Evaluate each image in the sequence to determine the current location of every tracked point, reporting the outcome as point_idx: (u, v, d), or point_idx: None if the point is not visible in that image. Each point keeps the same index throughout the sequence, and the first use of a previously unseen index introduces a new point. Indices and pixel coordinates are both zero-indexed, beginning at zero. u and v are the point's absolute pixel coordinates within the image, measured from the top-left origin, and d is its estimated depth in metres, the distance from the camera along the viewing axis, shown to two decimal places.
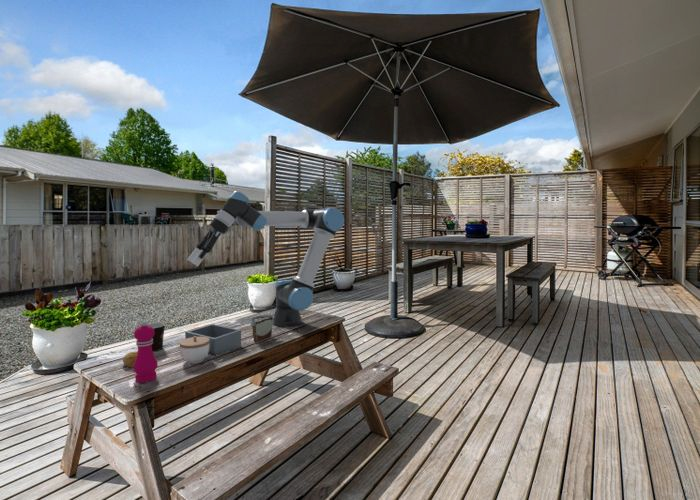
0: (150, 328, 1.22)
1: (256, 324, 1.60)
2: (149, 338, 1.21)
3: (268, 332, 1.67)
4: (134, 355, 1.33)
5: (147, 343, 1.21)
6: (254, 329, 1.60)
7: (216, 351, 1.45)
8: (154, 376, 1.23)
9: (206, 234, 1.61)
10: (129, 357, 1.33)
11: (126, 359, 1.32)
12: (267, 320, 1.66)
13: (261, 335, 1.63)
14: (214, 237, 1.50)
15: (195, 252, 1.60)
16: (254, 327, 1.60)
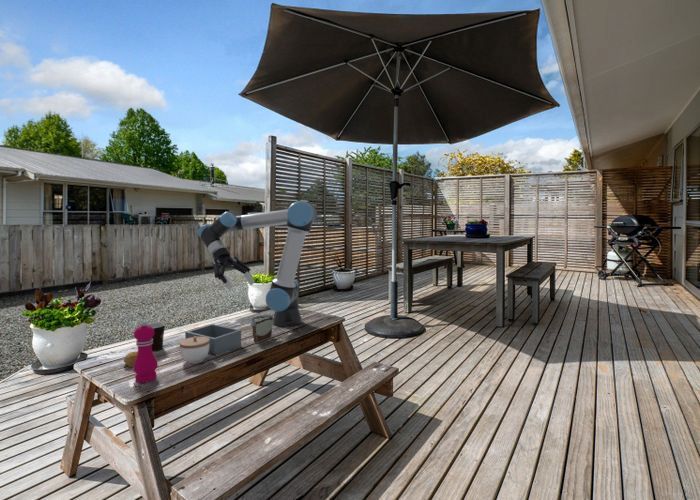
0: (150, 328, 1.22)
1: (256, 324, 1.60)
2: (149, 338, 1.21)
3: (268, 332, 1.67)
4: (135, 355, 1.34)
5: (147, 343, 1.21)
6: (254, 329, 1.60)
7: (216, 351, 1.45)
8: (154, 376, 1.23)
9: None
10: (130, 357, 1.33)
11: (127, 359, 1.33)
12: (267, 320, 1.66)
13: (261, 335, 1.63)
14: (214, 265, 1.67)
15: (246, 277, 1.76)
16: (254, 327, 1.60)
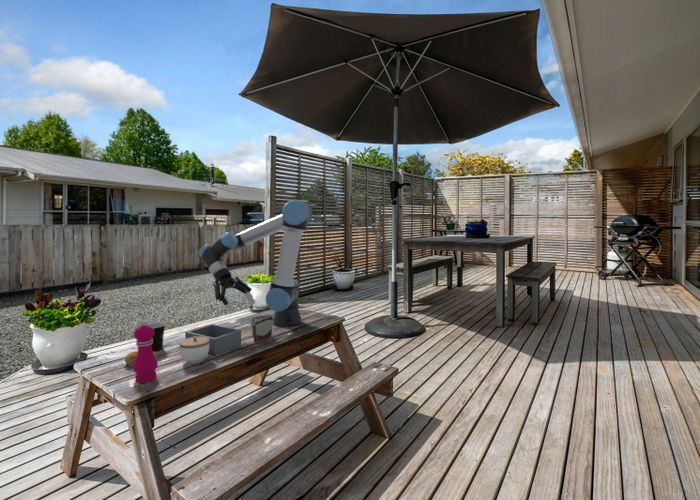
0: (150, 328, 1.22)
1: (256, 324, 1.60)
2: (149, 338, 1.21)
3: (268, 332, 1.67)
4: (136, 355, 1.34)
5: (147, 343, 1.21)
6: (254, 329, 1.60)
7: (216, 351, 1.45)
8: (154, 376, 1.23)
9: None
10: (131, 357, 1.33)
11: (128, 359, 1.33)
12: (267, 320, 1.66)
13: (261, 335, 1.63)
14: (215, 287, 1.67)
15: (247, 297, 1.77)
16: (254, 327, 1.60)
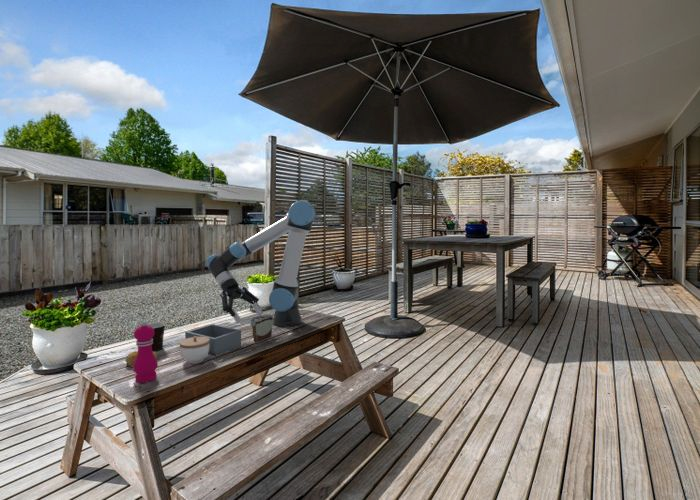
0: (150, 328, 1.22)
1: (256, 324, 1.60)
2: (149, 338, 1.21)
3: (268, 332, 1.67)
4: None
5: (147, 343, 1.21)
6: (254, 329, 1.60)
7: (216, 351, 1.45)
8: (154, 376, 1.23)
9: None
10: (132, 356, 1.33)
11: (129, 358, 1.33)
12: (267, 320, 1.66)
13: (261, 335, 1.63)
14: (222, 298, 1.65)
15: (255, 308, 1.74)
16: (254, 327, 1.60)
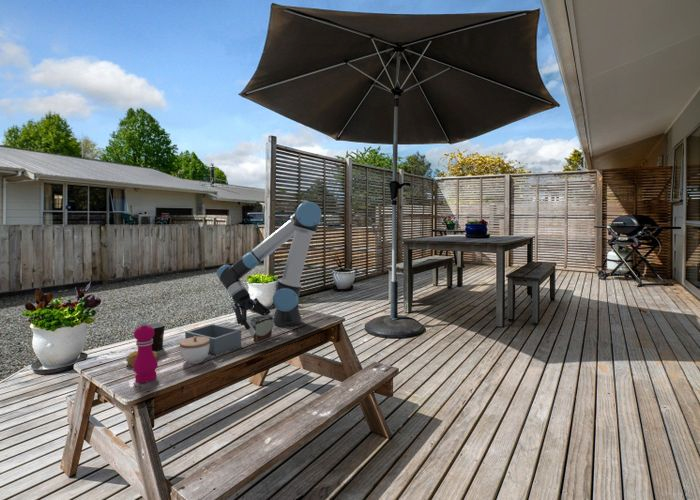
0: (150, 328, 1.22)
1: (256, 324, 1.60)
2: (149, 338, 1.21)
3: (268, 332, 1.67)
4: None
5: (147, 343, 1.21)
6: None
7: (216, 351, 1.45)
8: (154, 376, 1.23)
9: None
10: (133, 356, 1.34)
11: (130, 358, 1.33)
12: (267, 320, 1.66)
13: (261, 335, 1.63)
14: (236, 310, 1.62)
15: None
16: (254, 327, 1.60)
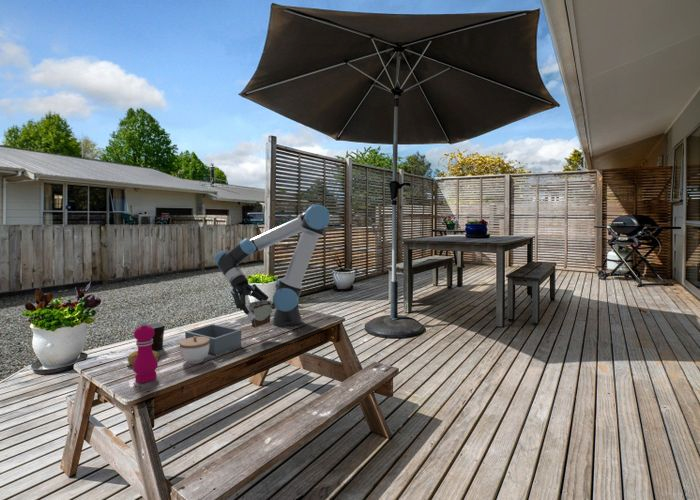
0: (150, 328, 1.22)
1: (254, 309, 1.59)
2: (149, 338, 1.21)
3: (266, 317, 1.66)
4: None
5: (147, 343, 1.21)
6: None
7: (216, 351, 1.45)
8: (154, 376, 1.23)
9: None
10: (134, 356, 1.34)
11: (131, 358, 1.34)
12: (265, 305, 1.65)
13: (259, 320, 1.62)
14: (234, 295, 1.62)
15: None
16: (252, 312, 1.59)
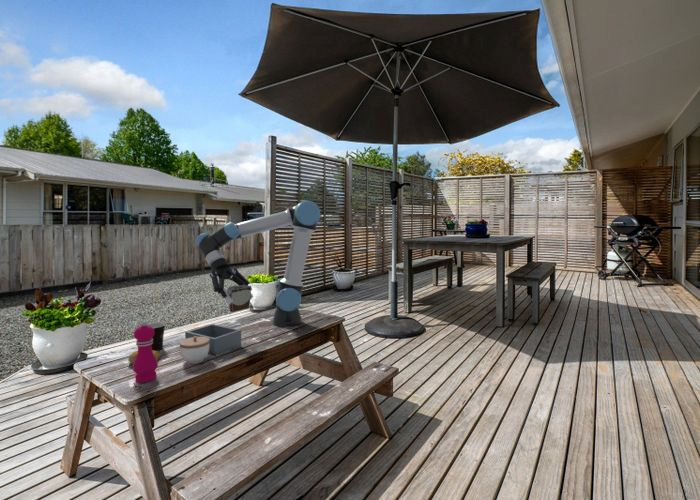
0: (150, 328, 1.22)
1: (232, 292, 1.54)
2: (149, 338, 1.21)
3: (245, 302, 1.61)
4: None
5: (147, 343, 1.21)
6: None
7: (216, 351, 1.45)
8: (154, 376, 1.23)
9: None
10: (135, 356, 1.34)
11: (132, 358, 1.34)
12: (245, 290, 1.60)
13: (237, 305, 1.57)
14: (213, 278, 1.57)
15: None
16: (230, 295, 1.54)
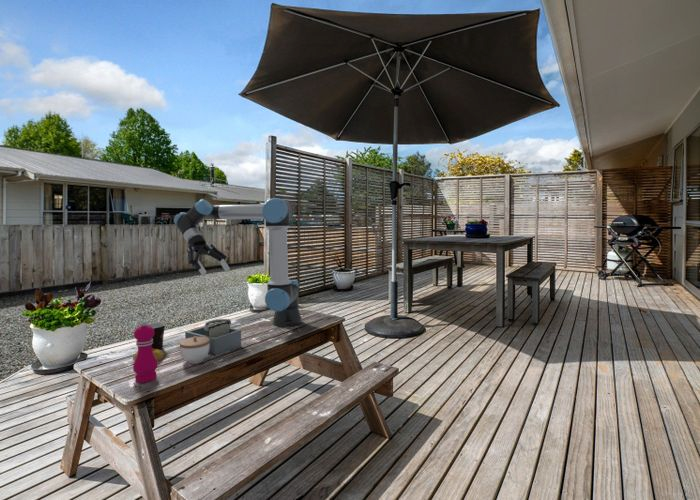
0: (150, 328, 1.22)
1: (209, 329, 1.49)
2: (149, 338, 1.21)
3: None
4: None
5: (147, 343, 1.21)
6: (207, 334, 1.49)
7: (216, 351, 1.45)
8: (154, 376, 1.23)
9: None
10: None
11: None
12: (223, 324, 1.55)
13: None
14: (189, 252, 1.68)
15: (222, 264, 1.77)
16: (207, 332, 1.49)
